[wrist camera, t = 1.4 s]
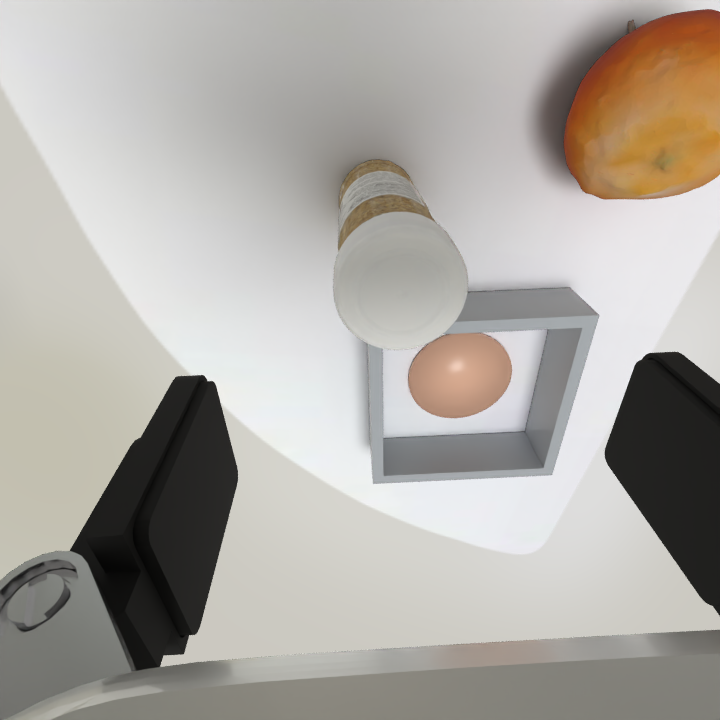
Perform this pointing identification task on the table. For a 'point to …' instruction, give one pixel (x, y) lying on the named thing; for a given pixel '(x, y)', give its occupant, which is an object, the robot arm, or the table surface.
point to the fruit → (650, 111)
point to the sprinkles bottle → (394, 262)
